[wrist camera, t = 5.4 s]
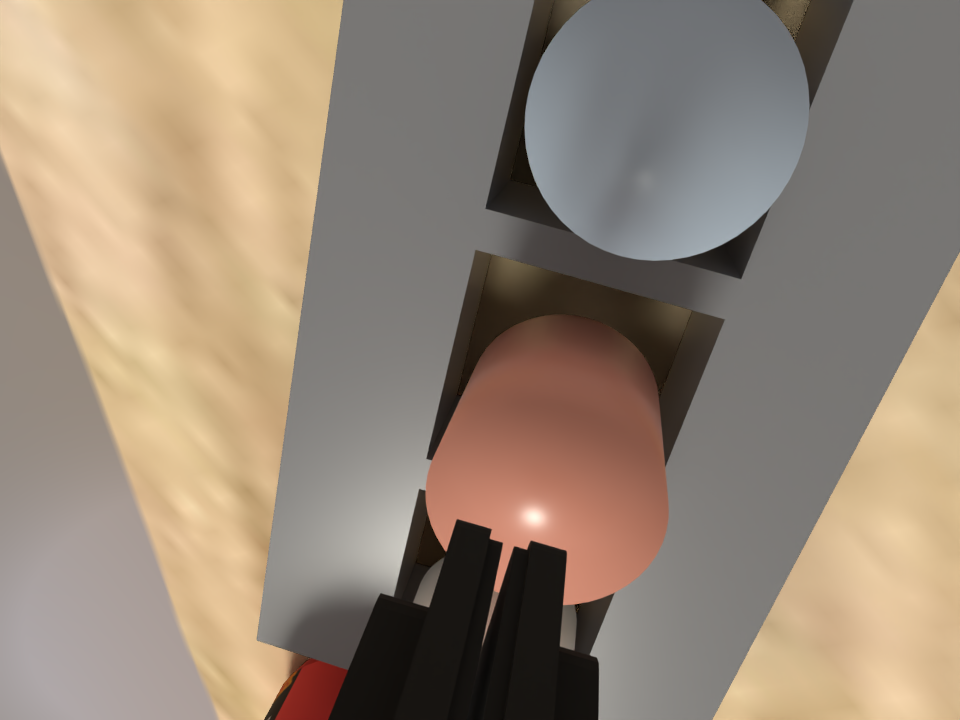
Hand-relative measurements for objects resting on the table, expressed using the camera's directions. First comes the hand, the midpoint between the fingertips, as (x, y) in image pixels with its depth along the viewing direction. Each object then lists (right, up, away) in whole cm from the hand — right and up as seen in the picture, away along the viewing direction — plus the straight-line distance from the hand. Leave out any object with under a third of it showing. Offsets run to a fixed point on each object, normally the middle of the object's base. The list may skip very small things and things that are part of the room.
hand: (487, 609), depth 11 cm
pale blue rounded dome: (+4, +9, +5) cm, 11 cm away
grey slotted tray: (+3, +4, +11) cm, 12 cm away
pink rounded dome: (+2, +3, +7) cm, 8 cm away
